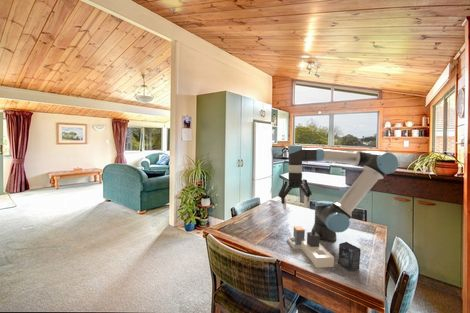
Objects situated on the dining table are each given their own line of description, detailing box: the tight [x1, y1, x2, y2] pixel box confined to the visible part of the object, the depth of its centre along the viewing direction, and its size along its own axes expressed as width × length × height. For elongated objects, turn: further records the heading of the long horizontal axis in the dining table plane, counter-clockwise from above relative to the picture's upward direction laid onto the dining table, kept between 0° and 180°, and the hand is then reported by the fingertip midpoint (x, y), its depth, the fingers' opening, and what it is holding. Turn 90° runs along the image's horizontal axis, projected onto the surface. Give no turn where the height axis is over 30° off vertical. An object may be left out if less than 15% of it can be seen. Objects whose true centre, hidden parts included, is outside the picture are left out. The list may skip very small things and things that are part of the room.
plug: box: [293, 225, 306, 245], centre depth 129 cm, size 5×5×10 cm
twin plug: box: [306, 227, 321, 247], centre depth 119 cm, size 5×5×13 cm
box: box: [337, 241, 362, 272], centre depth 108 cm, size 8×6×11 cm
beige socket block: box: [300, 241, 336, 269], centre depth 116 cm, size 16×18×5 cm
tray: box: [286, 236, 307, 250], centre depth 129 cm, size 10×10×2 cm
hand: (295, 208), depth 127 cm, fingers open, 13 cm apart
